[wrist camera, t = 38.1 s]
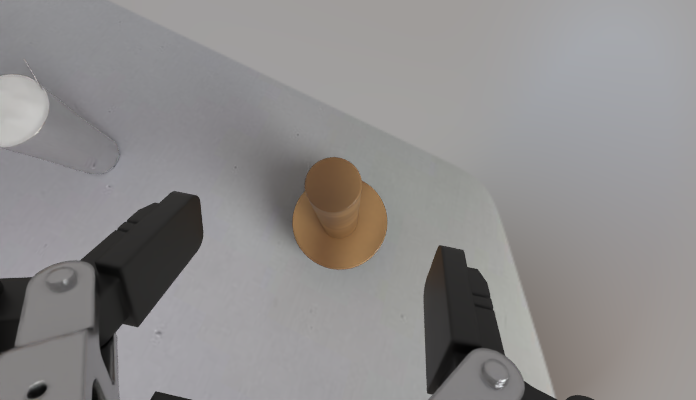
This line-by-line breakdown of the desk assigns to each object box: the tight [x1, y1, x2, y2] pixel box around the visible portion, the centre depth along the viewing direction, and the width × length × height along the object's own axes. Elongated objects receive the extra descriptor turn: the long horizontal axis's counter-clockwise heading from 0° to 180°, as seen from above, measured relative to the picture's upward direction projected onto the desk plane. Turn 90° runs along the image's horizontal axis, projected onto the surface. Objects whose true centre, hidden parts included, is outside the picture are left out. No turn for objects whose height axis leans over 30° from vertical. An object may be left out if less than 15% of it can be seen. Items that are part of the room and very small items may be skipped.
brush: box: [292, 157, 387, 270], centre depth 21 cm, size 6×6×13 cm
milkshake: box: [0, 59, 120, 174], centre depth 24 cm, size 4×5×10 cm
